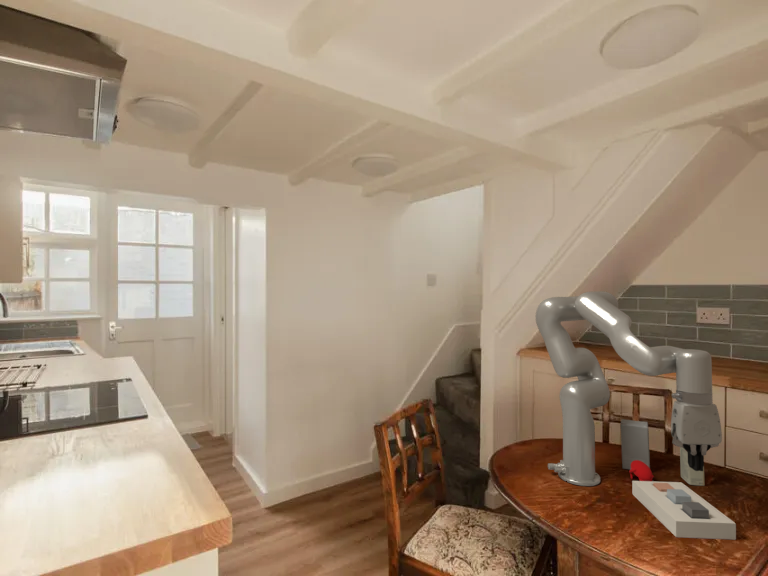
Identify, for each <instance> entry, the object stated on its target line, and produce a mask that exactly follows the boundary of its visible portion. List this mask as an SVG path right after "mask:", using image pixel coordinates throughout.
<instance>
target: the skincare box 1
mask: <svg viewBox="0 0 768 576" xmlns="http://www.w3.org/2000/svg"><path fill="white" fill-rule="evenodd" d="M620 438H621V439H620V440H621V441H620V442H621V445H620V446H621V462H622V464H621V465H622V469H623V470H629V471H630V469H631V463H632V461H634V460H639V461H642V462H644V463H645V464H646V465H647V466H648V467H649V468H650V469H651V465H650V464H651V463H650V460H651V459H650V458H651V457H650V436H649V423H648V421H643V420H642V421H639V420H633V419H632V420H631V419H623V418H622V419H621V421H620Z"/></svg>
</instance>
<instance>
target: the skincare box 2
mask: <svg viewBox="0 0 768 576" xmlns="http://www.w3.org/2000/svg"><path fill="white" fill-rule="evenodd" d="M679 459H680V460H679V461H680V465H679V466H680V477H681V478H682V480H684V481H685V482H686V483H687V484H688V485H691V486H701V487H705V465H704V466H703V471H695V470H694V469H692V468H690V467H689V465H688V452H687V451H685V449H684V448H682V447H679Z"/></svg>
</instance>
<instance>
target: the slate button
mask: <svg viewBox="0 0 768 576" xmlns="http://www.w3.org/2000/svg"><path fill="white" fill-rule="evenodd" d="M667 498H668V499H669V500H671V501H672V502H673V503H674V504H682V502H691V496H690V495H688V494H687V493H686V492H685V491H683V490H681V489H667Z"/></svg>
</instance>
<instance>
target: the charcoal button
mask: <svg viewBox="0 0 768 576" xmlns="http://www.w3.org/2000/svg"><path fill="white" fill-rule="evenodd" d="M682 511H683V512H685V513H686V514H687V515H688V516H689V517H690V518H693V519H709V510H708V509H706V508H705V507H704V506H703V505H701V504H700V503H699V502H682Z"/></svg>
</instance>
